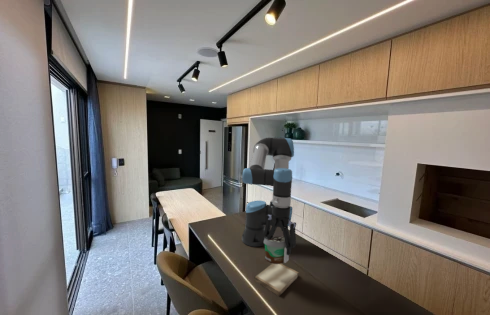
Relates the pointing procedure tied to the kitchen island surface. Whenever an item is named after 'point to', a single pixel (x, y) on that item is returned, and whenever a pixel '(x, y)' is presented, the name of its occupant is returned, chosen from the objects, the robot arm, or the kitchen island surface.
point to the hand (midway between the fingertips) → (278, 257)
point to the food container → (275, 250)
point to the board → (276, 278)
